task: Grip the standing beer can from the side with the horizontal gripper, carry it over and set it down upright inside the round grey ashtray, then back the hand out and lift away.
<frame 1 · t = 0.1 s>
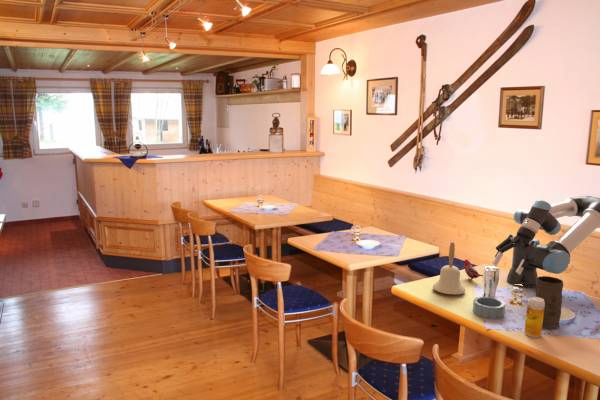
hand: (505, 268, 229), 15 cm above the table, tool tilted 35°, fingers open, 13 cm apart
beer stein: (541, 322, 209), on the table
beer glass: (488, 299, 233), on the table
handbell: (448, 292, 241), on the table
decorative bird figurine: (472, 281, 256), on the table
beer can: (532, 335, 196), on the table
round grey ashtray: (488, 312, 217), on the table
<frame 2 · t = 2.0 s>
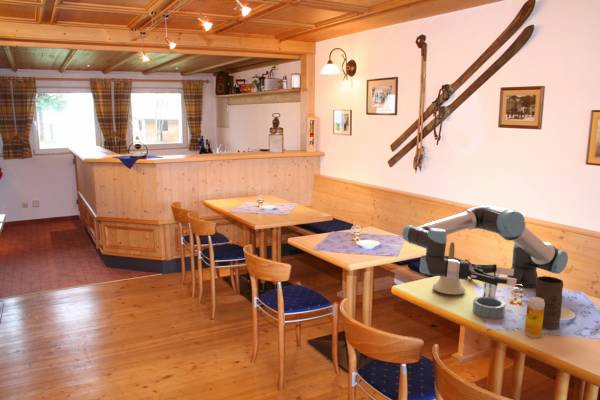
hand: (514, 277, 195), 23 cm above the table, tool horizontal, fingers open, 13 cm apart
nothing on the table moved.
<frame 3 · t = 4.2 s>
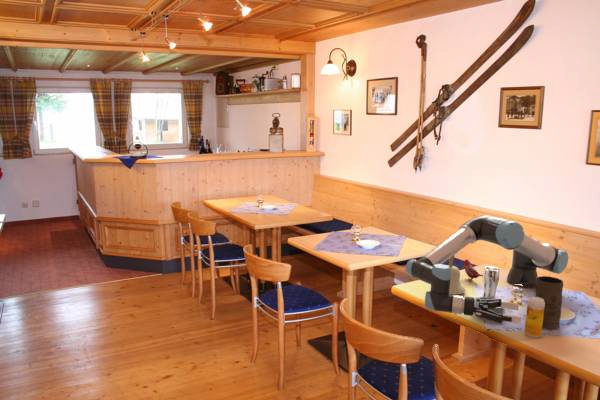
hand: (519, 313, 196), 8 cm above the table, tool horizontal, fingers open, 13 cm apart
nothing on the table moved.
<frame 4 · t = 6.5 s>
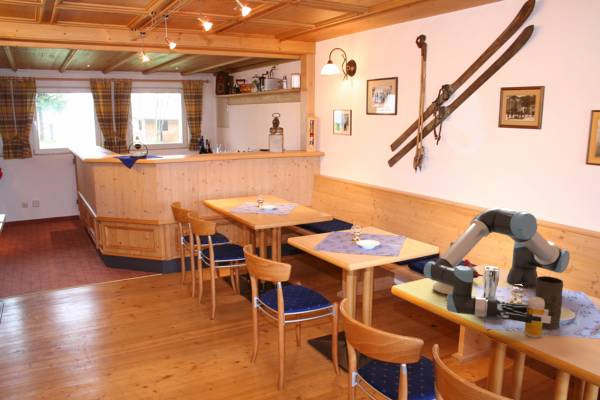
hand: (549, 316, 193), 9 cm above the table, tool horizontal, fingers closed on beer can, 6 cm apart
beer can: (532, 335, 196), on the table, touching gripper
everything else where it was.
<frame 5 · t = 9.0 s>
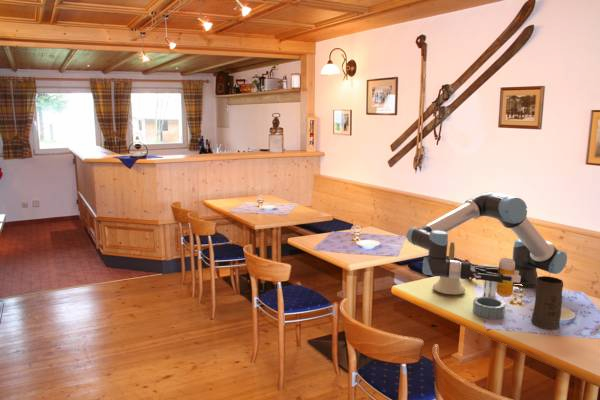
hand: (519, 276, 202), 21 cm above the table, tool horizontal, fingers closed on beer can, 6 cm apart
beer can: (504, 295, 205), point 12 cm above the table, touching gripper
everything else where it was.
when the fingers open (11 cm above the table, at t = 11.8 s): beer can drops 1 cm, resting on round grey ashtray.
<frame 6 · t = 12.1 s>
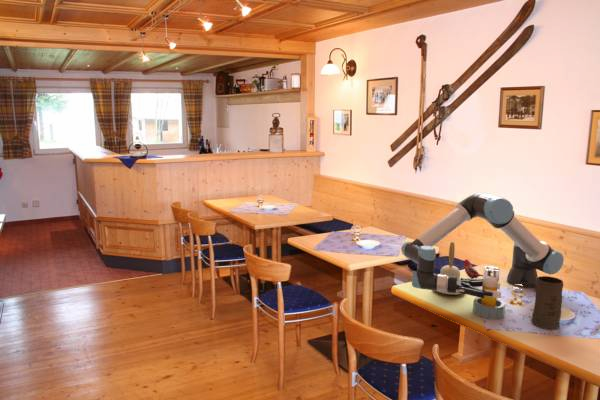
hand: (500, 290, 213), 11 cm above the table, tool horizontal, fingers open, 10 cm apart
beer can: (488, 311, 217), point 1 cm above the table, touching round grey ashtray
everything else where it was.
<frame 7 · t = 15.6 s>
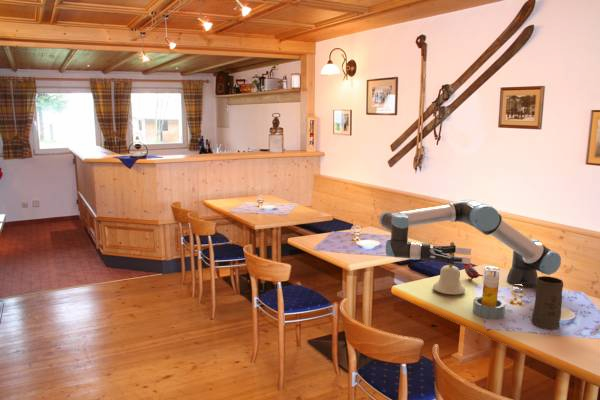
hand: (470, 256, 215), 25 cm above the table, tool horizontal, fingers open, 13 cm apart
nothing on the table moved.
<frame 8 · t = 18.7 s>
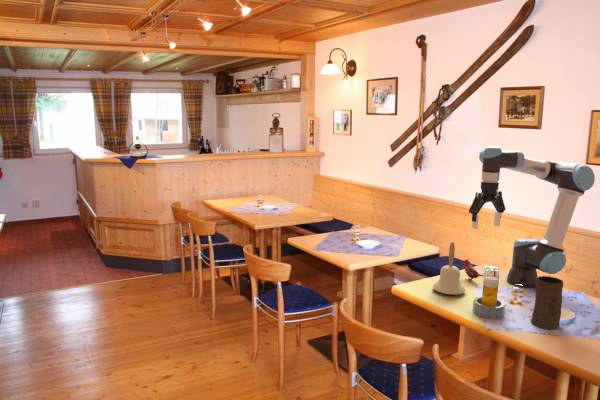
hand: (485, 227, 227), 35 cm above the table, tool pointing down, fingers open, 13 cm apart
nothing on the table moved.
at the end: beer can 0.1 cm off-centre on the round grey ashtray, point 0.8 cm above the round grey ashtray's base; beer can tilted 1°; the gripper is holding nothing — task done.
